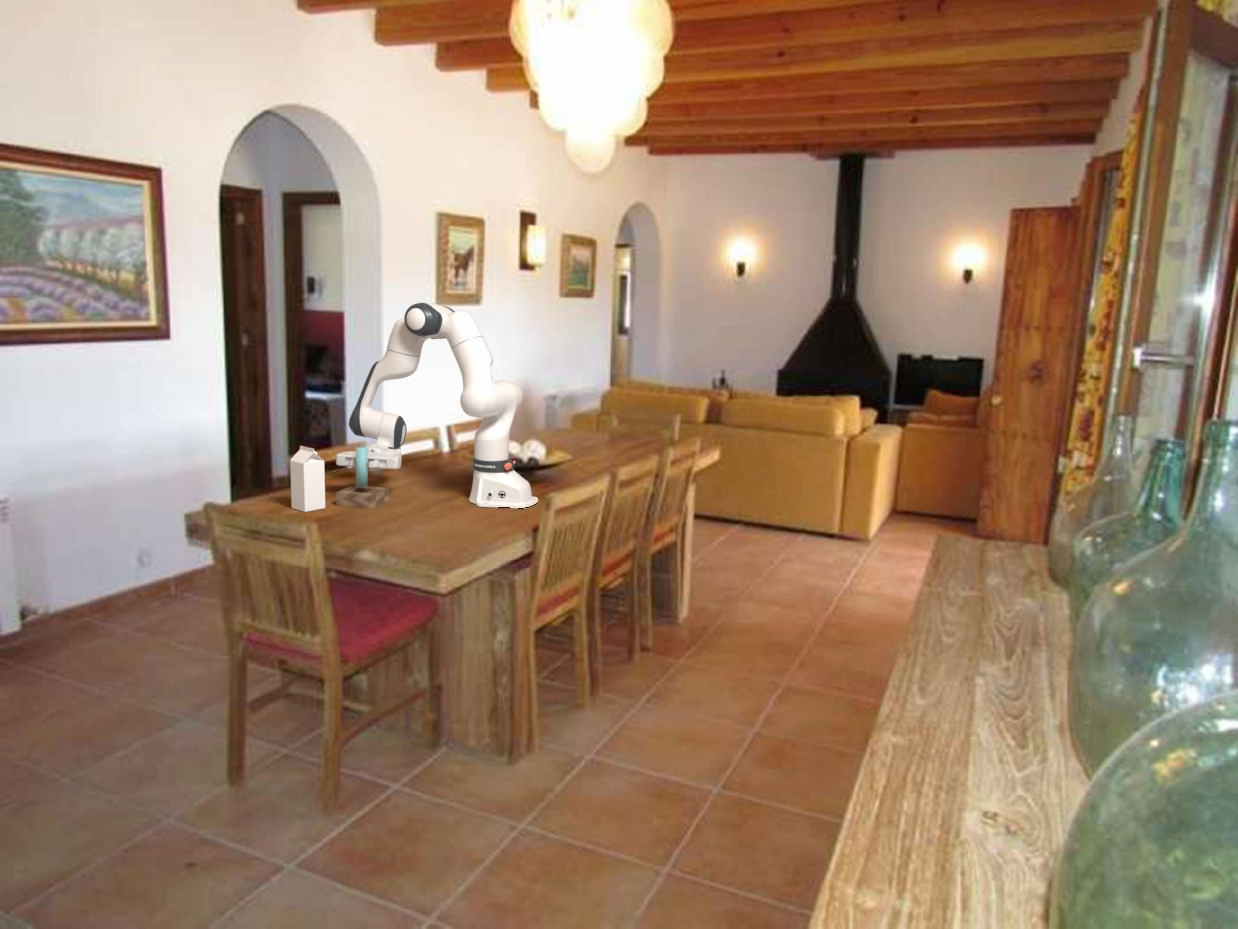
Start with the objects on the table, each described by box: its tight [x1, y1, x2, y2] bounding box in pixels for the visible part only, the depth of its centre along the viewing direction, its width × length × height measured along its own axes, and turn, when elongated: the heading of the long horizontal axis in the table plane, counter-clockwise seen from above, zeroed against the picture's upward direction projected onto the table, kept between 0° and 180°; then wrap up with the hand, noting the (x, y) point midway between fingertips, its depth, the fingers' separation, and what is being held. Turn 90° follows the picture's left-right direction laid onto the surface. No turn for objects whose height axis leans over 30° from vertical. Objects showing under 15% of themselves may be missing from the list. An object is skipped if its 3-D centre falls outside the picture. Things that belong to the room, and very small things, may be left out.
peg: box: [355, 446, 369, 486], centre depth 274 cm, size 4×4×12 cm
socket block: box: [335, 484, 390, 509], centre depth 276 cm, size 12×12×4 cm
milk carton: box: [289, 445, 326, 513], centre depth 264 cm, size 7×7×19 cm
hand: (360, 464), depth 273 cm, fingers closed on peg, 4 cm apart
